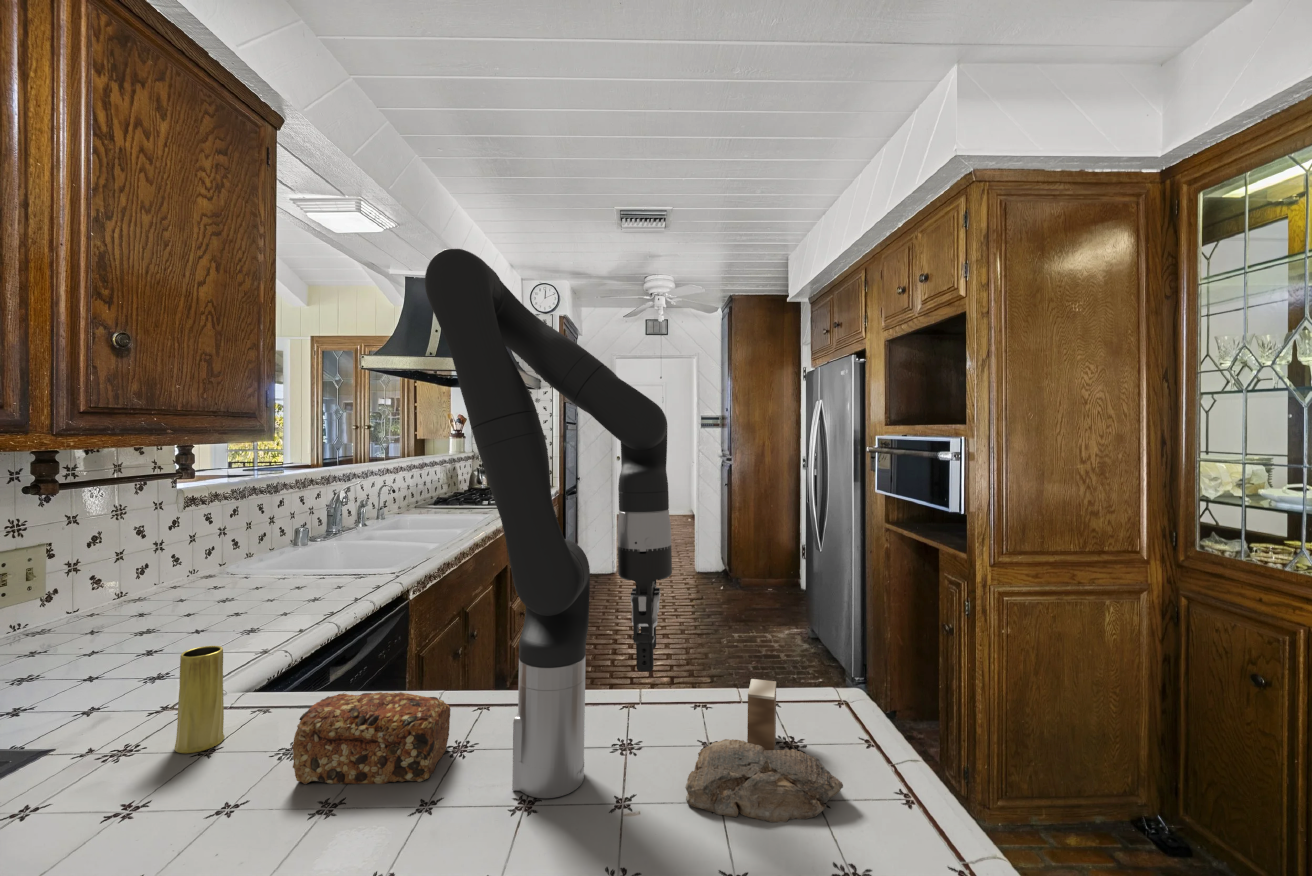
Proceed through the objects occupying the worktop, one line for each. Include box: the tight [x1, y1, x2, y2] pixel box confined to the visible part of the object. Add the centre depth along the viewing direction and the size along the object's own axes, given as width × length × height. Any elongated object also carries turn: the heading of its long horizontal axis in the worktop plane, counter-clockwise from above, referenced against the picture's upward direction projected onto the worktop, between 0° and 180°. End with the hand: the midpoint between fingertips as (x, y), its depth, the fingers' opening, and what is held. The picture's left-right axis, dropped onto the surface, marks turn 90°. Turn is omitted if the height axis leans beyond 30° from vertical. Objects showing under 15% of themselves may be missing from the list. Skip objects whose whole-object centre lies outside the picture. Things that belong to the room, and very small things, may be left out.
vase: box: [174, 645, 225, 755], centre depth 91 cm, size 6×6×14 cm
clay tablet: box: [684, 738, 844, 823], centre depth 80 cm, size 14×5×20 cm
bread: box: [292, 691, 451, 785], centre depth 85 cm, size 19×11×10 cm, turn 93°
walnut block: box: [746, 678, 777, 751], centre depth 92 cm, size 4×6×9 cm, turn 166°
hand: (647, 658), depth 82 cm, fingers open, 8 cm apart
